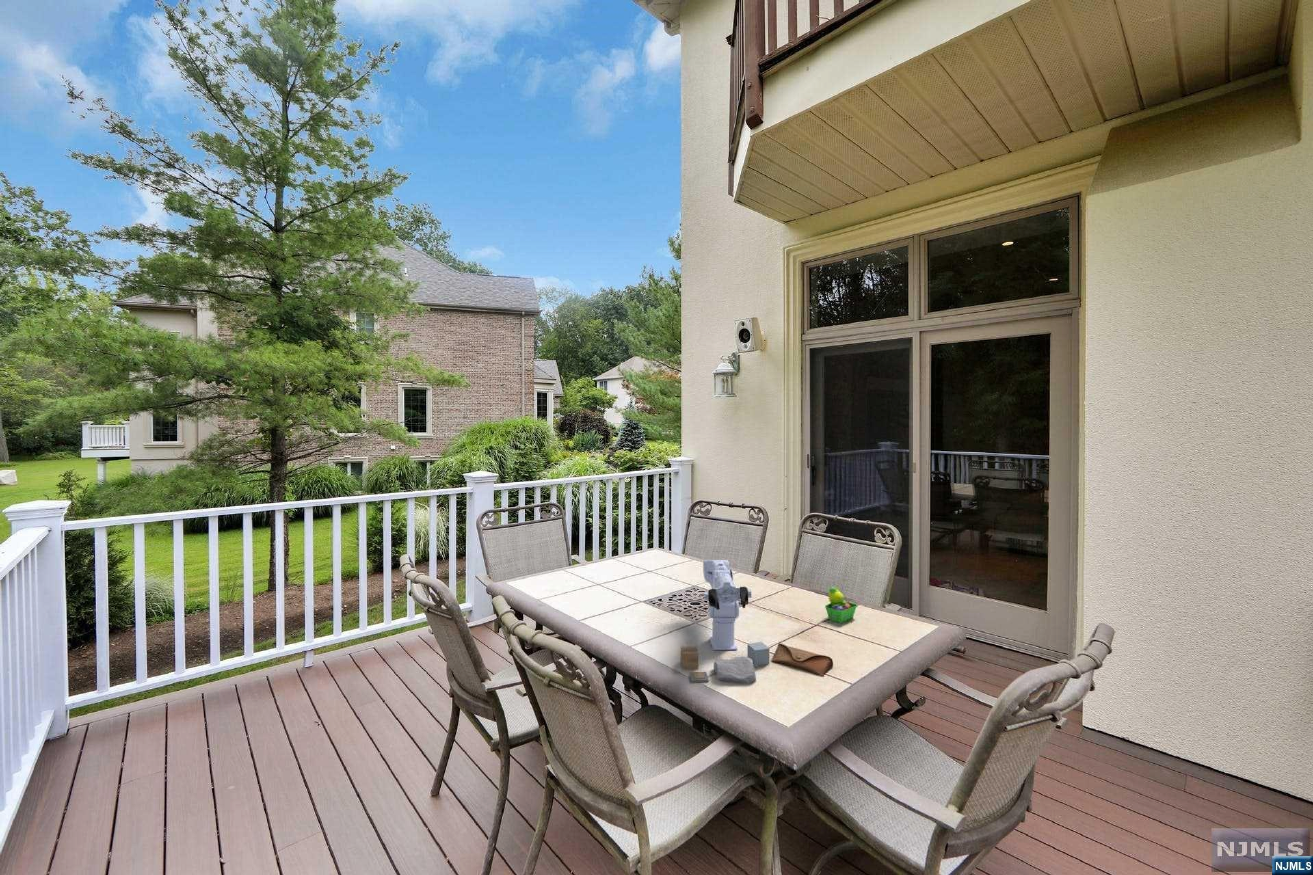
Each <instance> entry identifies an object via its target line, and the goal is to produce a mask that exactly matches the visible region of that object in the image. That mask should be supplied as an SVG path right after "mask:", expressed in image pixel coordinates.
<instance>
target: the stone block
mask: <svg viewBox="0 0 1313 875" xmlns="http://www.w3.org/2000/svg"><path fill="white" fill-rule="evenodd" d="M713 671H714V673H715V674H716V678H717V680H718V681H726V682H732V683H733V682H734V683H741V684H751V683H755V682H756V681H757V674H756V670H755V666H754V665H753V661H752V659H750V658H748V657H747V656H737V657H734V658H730V659H728V658H723V657H717V658H716V659H715V660H714V661H713Z"/></svg>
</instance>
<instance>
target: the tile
mask: <svg viewBox="0 0 1313 875" xmlns="http://www.w3.org/2000/svg"><path fill="white" fill-rule="evenodd" d="M689 678H690V682H691V683H709V681H710V680H709V677H708V674H707V671H689Z"/></svg>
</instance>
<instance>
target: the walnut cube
mask: <svg viewBox="0 0 1313 875" xmlns="http://www.w3.org/2000/svg"><path fill="white" fill-rule="evenodd" d="M680 665H681V666H682V667H681V670H699V650H698V647H697V646H696V645H695V646H694V645H689V646H687V645H686V646H683V645H681V646H680Z"/></svg>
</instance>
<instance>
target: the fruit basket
mask: <svg viewBox="0 0 1313 875" xmlns="http://www.w3.org/2000/svg"><path fill="white" fill-rule="evenodd" d="M844 599H845V596H844V595H843V593H842V592H841V591H839V589H838V588H836V587H834V586H831V587H830V588H829V591H828V601H829V602H830V603H828V604H826V605H825V606H824V608H825V610H826V614H827V617H828V619H829V620H830V619H831V621H834V622H836V621H837V623H840V624H841V623H843V622H846V621H847V620H850V619H852V618H854V616H855V612H856V609H857V606H858V604H856V603H854V602H850V601H847V600H844Z"/></svg>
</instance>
